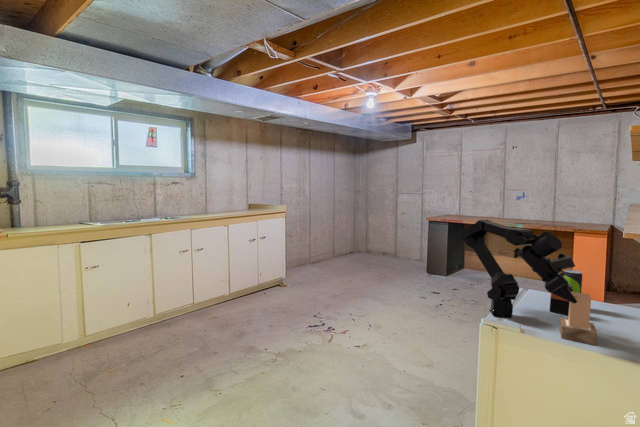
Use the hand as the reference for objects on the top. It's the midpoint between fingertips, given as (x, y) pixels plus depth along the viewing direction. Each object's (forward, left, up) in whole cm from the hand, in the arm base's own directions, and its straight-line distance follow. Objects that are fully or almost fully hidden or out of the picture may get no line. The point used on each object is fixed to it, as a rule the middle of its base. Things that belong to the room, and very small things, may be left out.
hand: (574, 298), depth 114 cm
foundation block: (+1, -1, -12) cm, 13 cm away
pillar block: (+1, -1, -8) cm, 9 cm away
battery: (+6, +22, -13) cm, 26 cm away
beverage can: (+13, +30, -13) cm, 35 cm away
